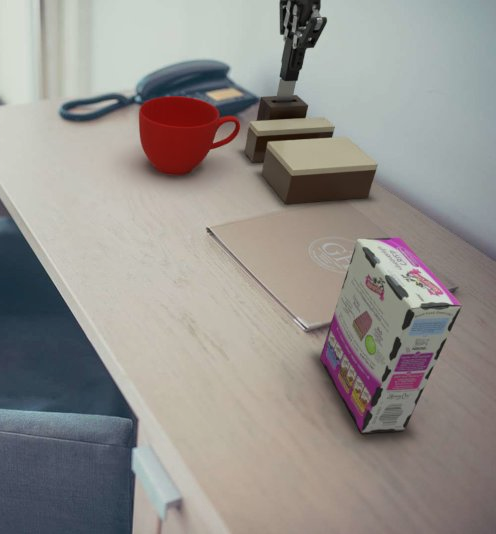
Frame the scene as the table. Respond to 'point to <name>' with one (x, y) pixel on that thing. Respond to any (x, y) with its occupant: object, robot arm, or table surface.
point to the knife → (287, 75)
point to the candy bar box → (386, 333)
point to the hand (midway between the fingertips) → (291, 66)
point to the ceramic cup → (180, 132)
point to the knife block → (281, 109)
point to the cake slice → (283, 133)
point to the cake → (318, 170)
